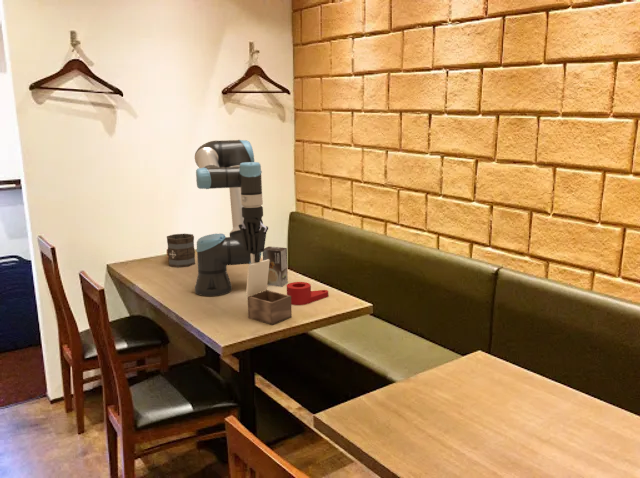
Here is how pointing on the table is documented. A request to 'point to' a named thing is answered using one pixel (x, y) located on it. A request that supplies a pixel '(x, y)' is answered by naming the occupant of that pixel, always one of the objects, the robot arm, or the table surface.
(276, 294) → the box
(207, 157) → the robot arm
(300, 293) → the lever
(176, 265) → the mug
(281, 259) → the coffee box
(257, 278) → the lid
